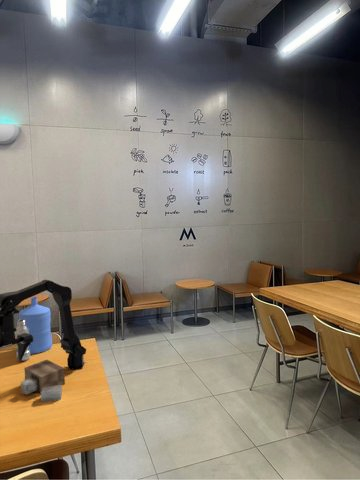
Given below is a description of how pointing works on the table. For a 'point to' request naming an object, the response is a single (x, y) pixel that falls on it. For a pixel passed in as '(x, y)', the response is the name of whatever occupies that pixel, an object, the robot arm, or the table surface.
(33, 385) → the peg
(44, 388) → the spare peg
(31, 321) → the water jug
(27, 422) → the table surface
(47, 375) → the socket block
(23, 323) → the plastic bottle
